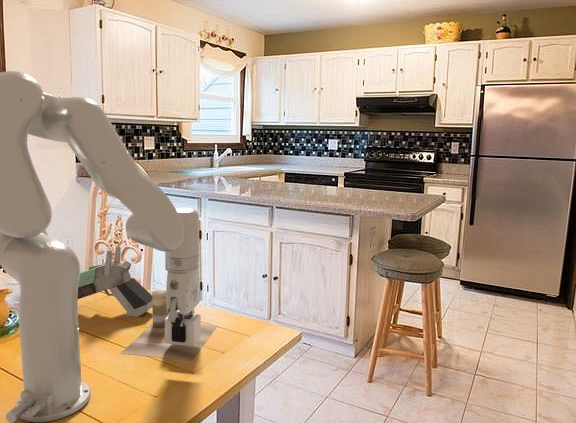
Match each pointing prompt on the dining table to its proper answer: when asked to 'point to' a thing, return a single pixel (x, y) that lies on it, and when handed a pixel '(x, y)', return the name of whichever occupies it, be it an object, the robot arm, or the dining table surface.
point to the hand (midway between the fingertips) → (183, 335)
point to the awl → (159, 308)
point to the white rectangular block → (192, 329)
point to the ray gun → (115, 284)
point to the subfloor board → (166, 344)
